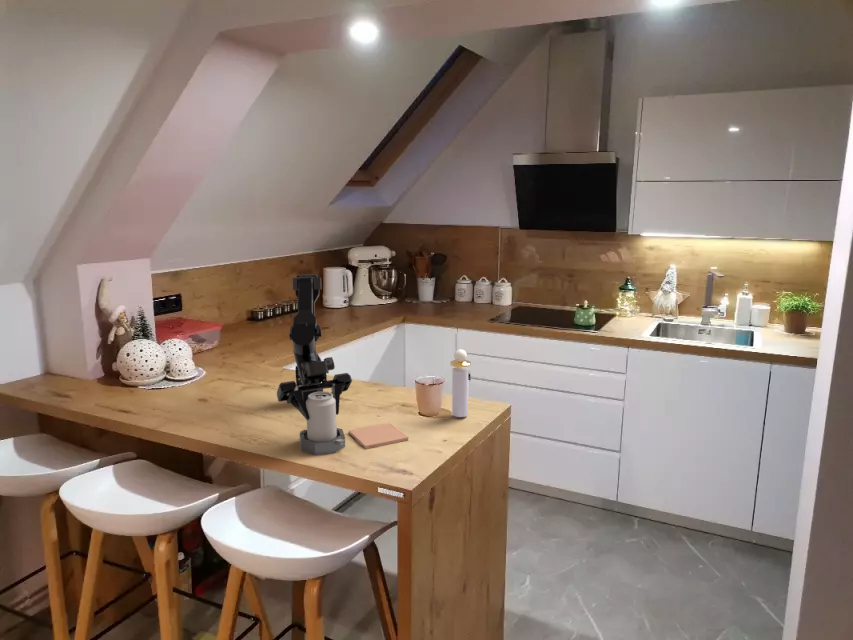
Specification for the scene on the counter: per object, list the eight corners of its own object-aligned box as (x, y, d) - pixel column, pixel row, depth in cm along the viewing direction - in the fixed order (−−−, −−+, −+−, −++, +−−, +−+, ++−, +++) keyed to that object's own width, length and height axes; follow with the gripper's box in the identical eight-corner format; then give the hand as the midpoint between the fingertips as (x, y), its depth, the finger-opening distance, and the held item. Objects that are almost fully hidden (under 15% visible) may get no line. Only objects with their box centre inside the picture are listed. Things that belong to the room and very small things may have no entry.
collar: (287, 447, 164) (287, 436, 163) (316, 433, 173) (315, 422, 173) (329, 458, 157) (328, 447, 157) (356, 443, 167) (356, 432, 166)
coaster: (348, 432, 173) (348, 430, 173) (389, 425, 179) (389, 422, 179) (365, 448, 163) (365, 446, 163) (408, 440, 168) (408, 437, 168)
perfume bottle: (461, 421, 181) (461, 353, 177) (445, 416, 185) (446, 349, 181) (474, 416, 185) (475, 349, 181) (458, 411, 189) (459, 345, 185)
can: (338, 433, 169) (336, 389, 166) (335, 444, 162) (333, 399, 159) (309, 433, 169) (307, 390, 166) (305, 445, 161) (303, 400, 159)
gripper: (277, 352, 159) (292, 408, 152) (348, 343, 168) (365, 396, 160) (270, 374, 168) (284, 428, 161) (338, 364, 176) (354, 415, 169)
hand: (323, 416), depth 162 cm, fingers closed on can, 7 cm apart
